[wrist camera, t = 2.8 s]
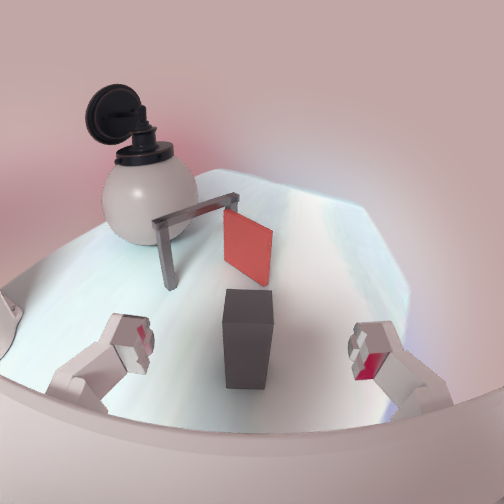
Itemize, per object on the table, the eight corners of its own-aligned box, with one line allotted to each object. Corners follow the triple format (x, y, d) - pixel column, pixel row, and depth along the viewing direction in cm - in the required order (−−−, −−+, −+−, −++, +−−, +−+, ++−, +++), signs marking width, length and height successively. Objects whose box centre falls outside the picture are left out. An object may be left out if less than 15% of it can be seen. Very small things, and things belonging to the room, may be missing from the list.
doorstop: (226, 388, 31) (222, 322, 25) (228, 358, 35) (226, 288, 28) (264, 389, 31) (273, 324, 25) (263, 359, 35) (271, 290, 28)
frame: (233, 253, 55) (233, 192, 48) (238, 256, 54) (239, 194, 47) (162, 287, 46) (151, 220, 39) (167, 292, 45) (155, 224, 38)
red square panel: (224, 260, 52) (223, 210, 47) (228, 258, 53) (228, 208, 47) (263, 286, 46) (268, 233, 41) (268, 284, 47) (272, 230, 42)
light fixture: (141, 278, 48) (114, 78, 29) (92, 235, 59) (70, 92, 41) (219, 235, 60) (219, 72, 42) (158, 206, 72) (149, 80, 54)
